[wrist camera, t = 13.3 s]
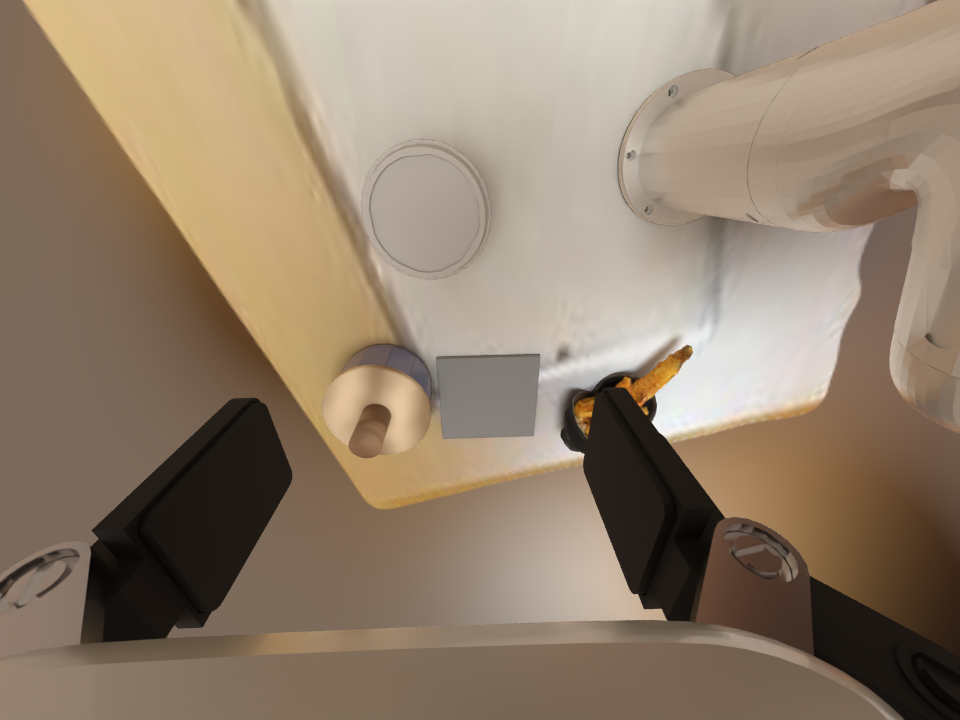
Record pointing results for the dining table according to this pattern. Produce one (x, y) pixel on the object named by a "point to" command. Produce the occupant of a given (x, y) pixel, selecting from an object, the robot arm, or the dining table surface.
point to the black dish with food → (638, 388)
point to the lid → (376, 410)
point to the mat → (488, 395)
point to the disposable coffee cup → (426, 209)
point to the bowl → (393, 362)
